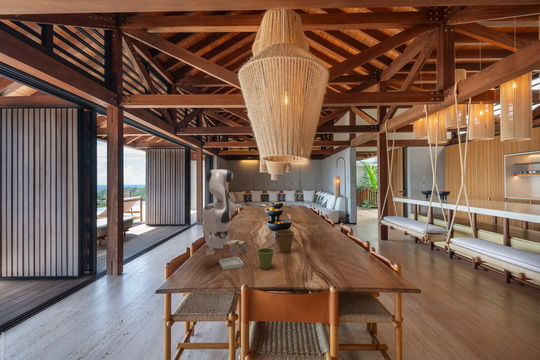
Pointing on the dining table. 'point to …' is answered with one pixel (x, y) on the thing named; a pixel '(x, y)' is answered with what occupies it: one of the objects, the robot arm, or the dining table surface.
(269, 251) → the plant pot
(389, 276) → the dining table surface
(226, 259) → the tray
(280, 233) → the plant pot
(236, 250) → the patterned box
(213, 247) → the maple block
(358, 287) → the dining table surface
